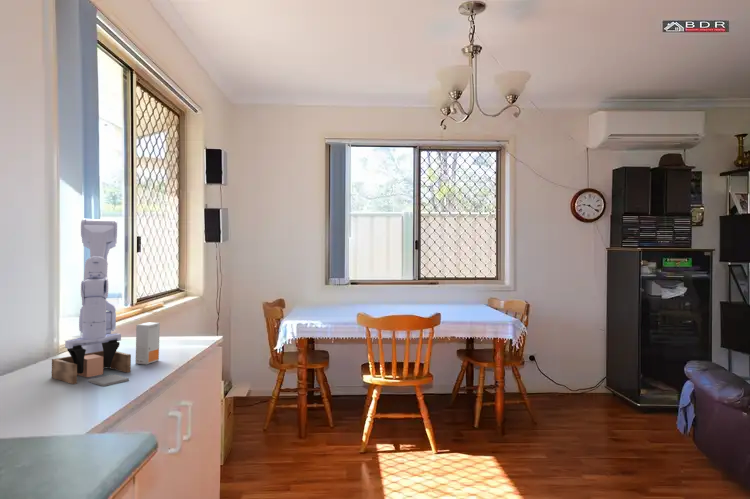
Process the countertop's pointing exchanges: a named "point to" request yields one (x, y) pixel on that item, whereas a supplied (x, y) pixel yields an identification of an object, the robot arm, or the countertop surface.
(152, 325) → the skincare box
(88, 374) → the block
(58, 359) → the open box
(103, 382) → the mat
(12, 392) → the countertop surface
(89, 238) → the robot arm
